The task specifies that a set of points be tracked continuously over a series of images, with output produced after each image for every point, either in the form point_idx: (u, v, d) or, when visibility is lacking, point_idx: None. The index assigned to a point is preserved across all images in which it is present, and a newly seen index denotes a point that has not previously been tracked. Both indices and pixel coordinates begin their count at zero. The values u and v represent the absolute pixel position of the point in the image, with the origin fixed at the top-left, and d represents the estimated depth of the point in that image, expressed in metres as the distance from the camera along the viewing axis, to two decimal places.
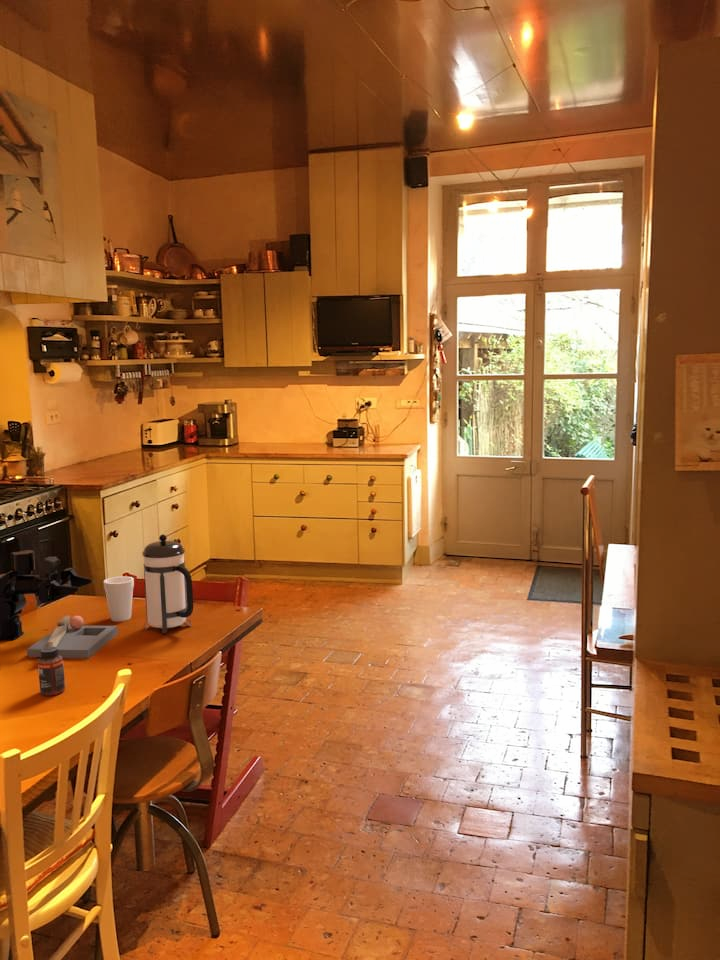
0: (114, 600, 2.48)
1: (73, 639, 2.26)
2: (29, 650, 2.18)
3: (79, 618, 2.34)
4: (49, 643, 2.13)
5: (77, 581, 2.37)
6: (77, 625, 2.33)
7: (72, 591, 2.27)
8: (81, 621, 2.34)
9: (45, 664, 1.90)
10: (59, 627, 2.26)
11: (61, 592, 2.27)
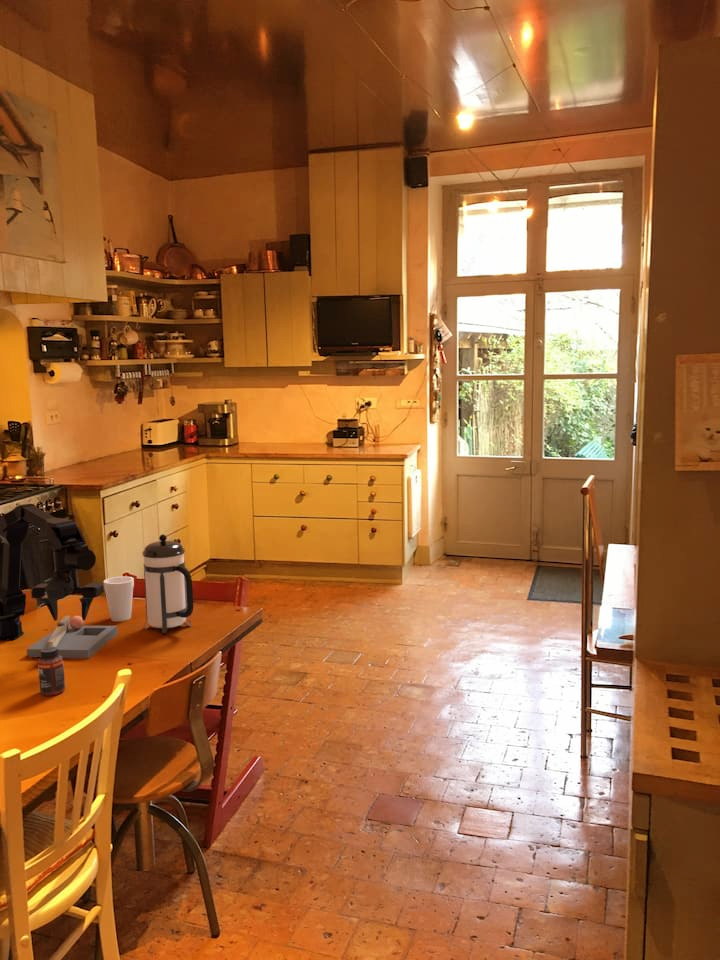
0: (114, 600, 2.48)
1: (73, 639, 2.26)
2: (29, 650, 2.18)
3: (79, 618, 2.34)
4: (49, 643, 2.13)
5: None
6: (77, 625, 2.33)
7: None
8: (81, 621, 2.34)
9: (45, 664, 1.90)
10: (59, 627, 2.26)
11: None
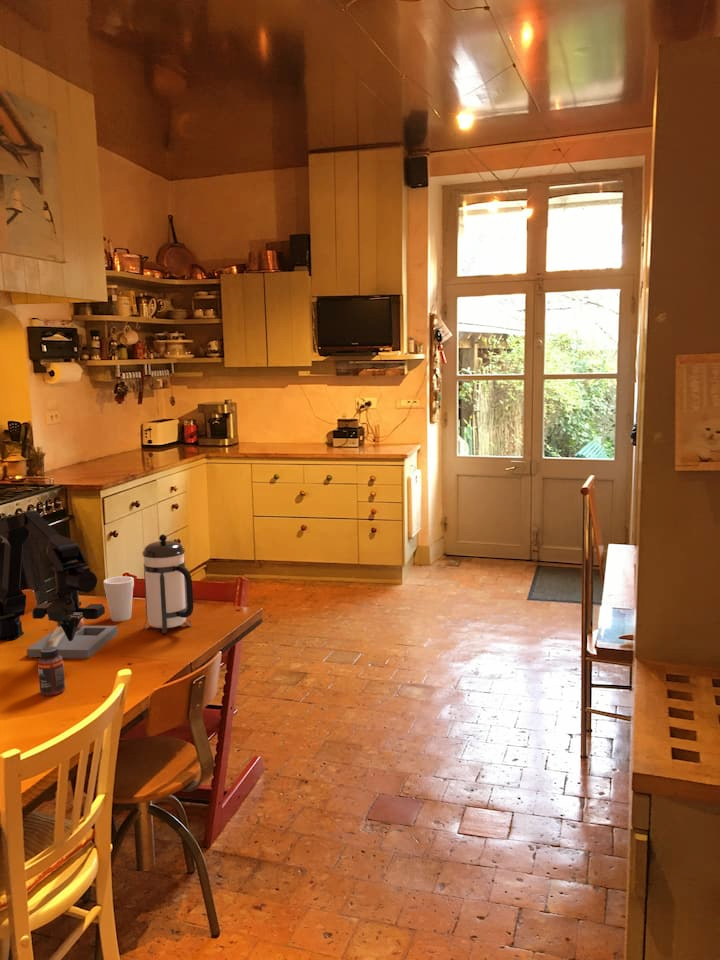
0: (114, 600, 2.48)
1: (73, 639, 2.26)
2: (29, 650, 2.18)
3: None
4: (49, 643, 2.13)
5: None
6: None
7: None
8: (81, 621, 2.34)
9: (45, 664, 1.90)
10: (59, 627, 2.26)
11: None
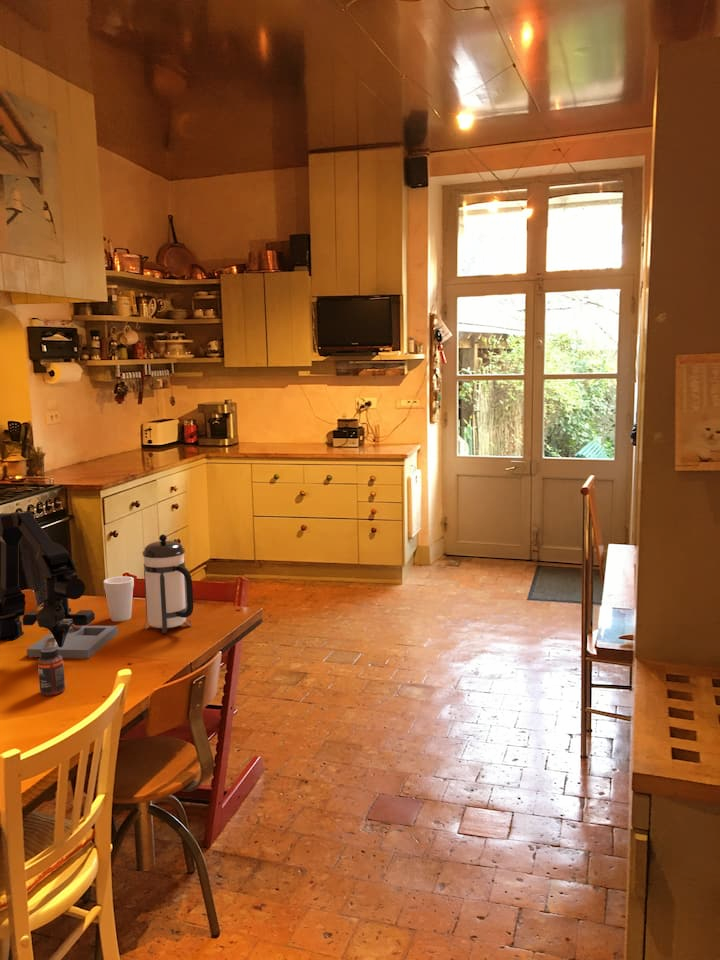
0: (114, 600, 2.48)
1: (73, 639, 2.26)
2: (29, 650, 2.18)
3: None
4: (48, 643, 2.13)
5: None
6: None
7: None
8: None
9: (45, 664, 1.90)
10: None
11: None
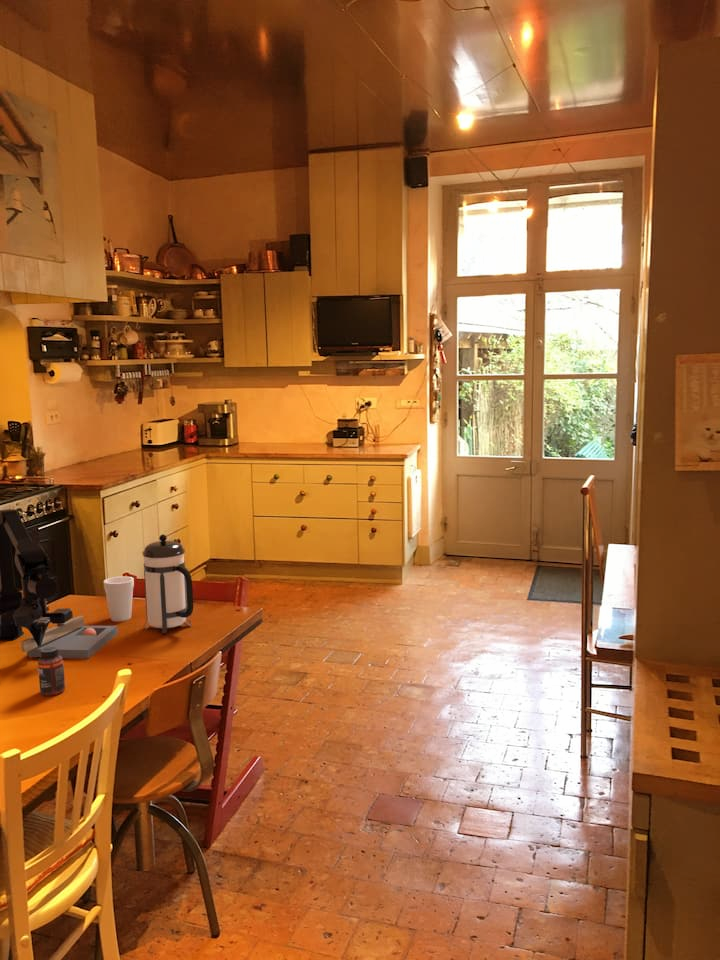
0: (114, 600, 2.48)
1: (73, 639, 2.26)
2: None
3: None
4: (22, 643, 2.14)
5: None
6: None
7: None
8: None
9: (45, 664, 1.90)
10: (55, 627, 2.26)
11: None
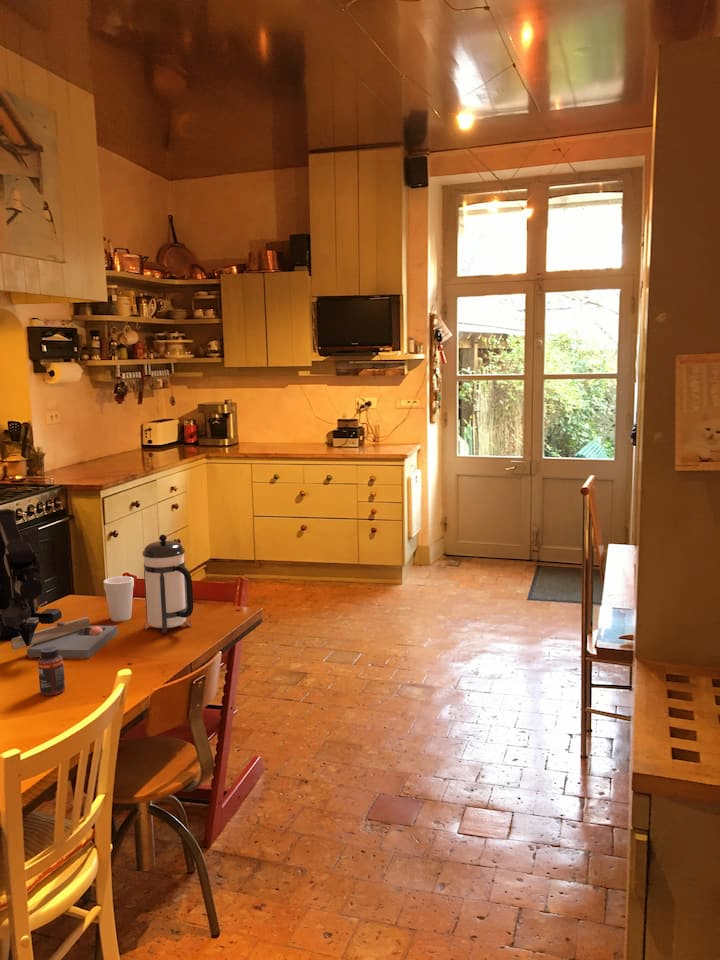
0: (114, 600, 2.48)
1: (73, 639, 2.26)
2: (29, 650, 2.18)
3: None
4: (12, 640, 2.16)
5: None
6: None
7: None
8: None
9: (45, 664, 1.90)
10: (53, 627, 2.26)
11: None
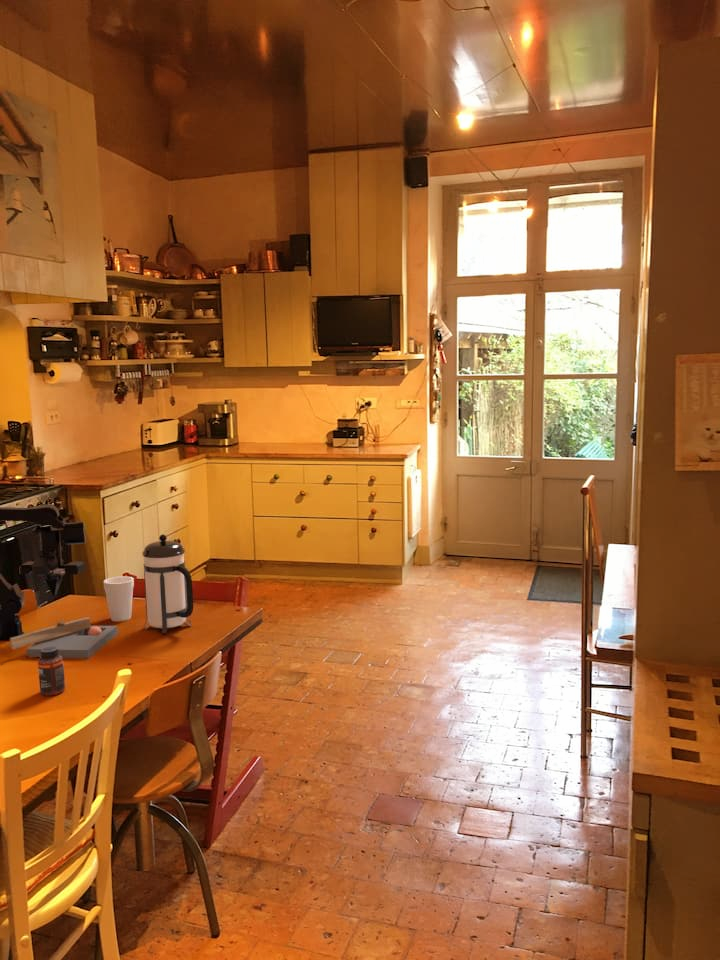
0: (114, 600, 2.48)
1: (73, 639, 2.26)
2: (29, 650, 2.18)
3: None
4: (10, 640, 2.17)
5: None
6: None
7: None
8: None
9: (45, 664, 1.90)
10: (53, 627, 2.26)
11: None
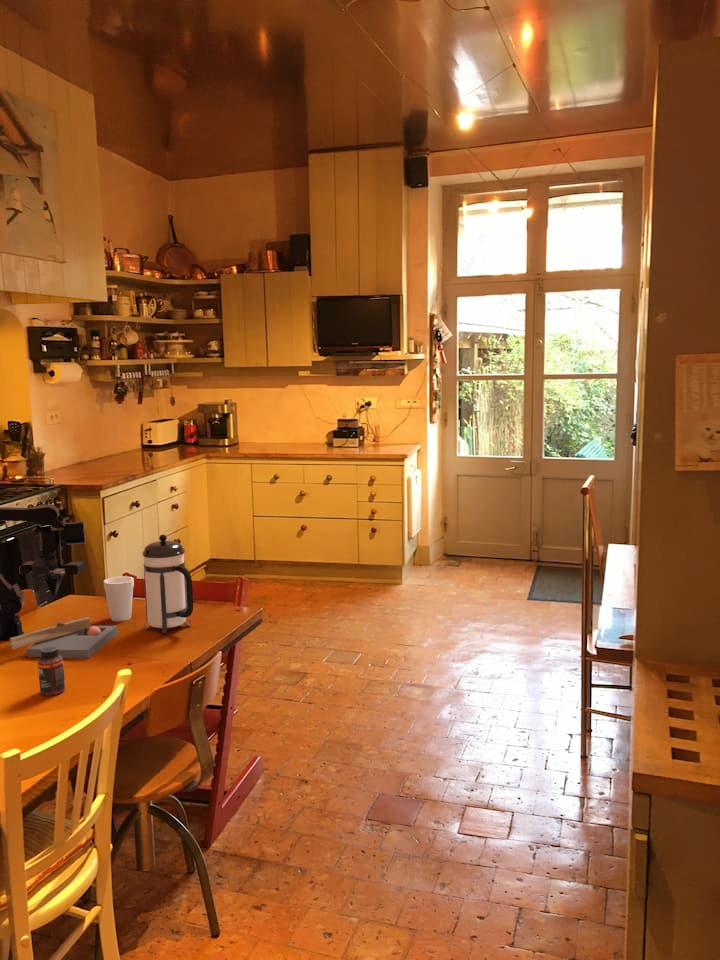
0: (114, 600, 2.48)
1: (73, 639, 2.26)
2: (29, 650, 2.18)
3: None
4: (10, 640, 2.17)
5: None
6: None
7: None
8: None
9: (45, 664, 1.90)
10: (53, 627, 2.26)
11: None
